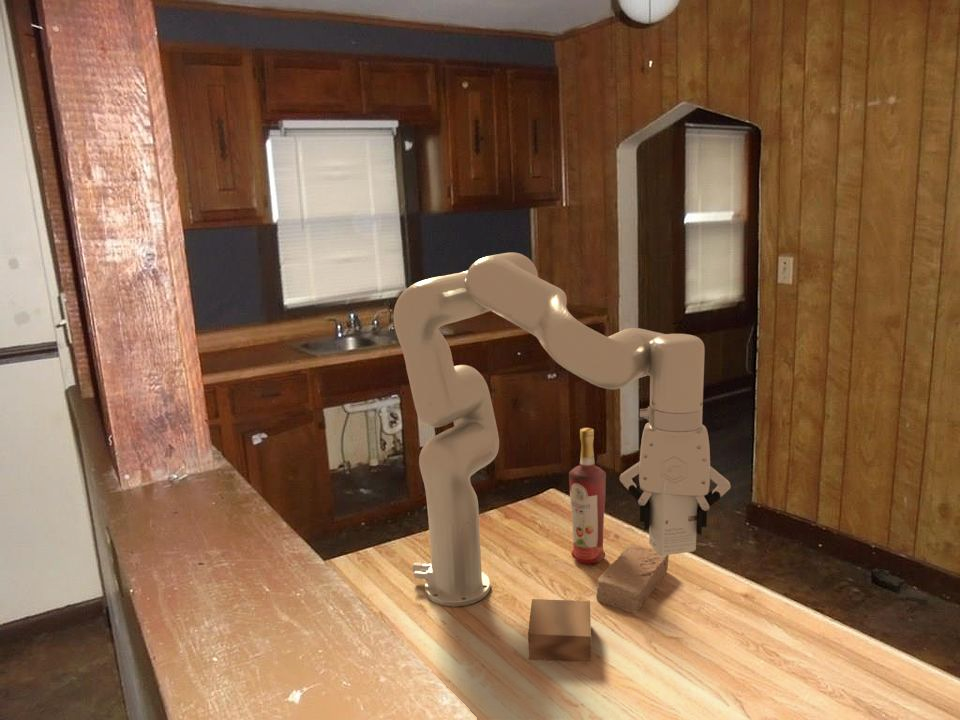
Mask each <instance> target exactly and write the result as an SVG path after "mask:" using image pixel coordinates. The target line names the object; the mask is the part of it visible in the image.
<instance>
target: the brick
mask: <svg viewBox="0 0 960 720" xmlns="http://www.w3.org/2000/svg"><path fill="white" fill-rule="evenodd" d="M669 557H670V555H662V556H661V555H659V554H658V553H657V552H656V551H655V549H653V547H651V548H650V547H647V546H640V545H638V546H637V545H633V544H631V543H630V544H628V545H627V546H625V547H624V549H623V550H622V552H621V553H620V555H618V557H617V559H615V560H614V561H613V562H612V563H611V564H610V566H608V567H607V568H606V569H604V571H603V573H601V575H600V576H599V577H598V578H597V584H596V596H595V597H596V600H597V601H598V602H600V603H602V604H605V605H610V606H613V607H614V608H618V609H621V610H623V611H627V612H630V613H637V612H638V611H639V610H640V609H641V608H642V606H643V605H644V602H645V601H646V600H647V599H649V597H650V595H651V593H653V592H654V590H655V589H656V587H657V586H658V585H659V584H660V582H661V581H662V579H663V578H664V576H665V575H666V573H667V572H668V567H669Z"/></svg>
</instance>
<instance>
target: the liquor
mask: <svg viewBox="0 0 960 720" xmlns="http://www.w3.org/2000/svg"><path fill="white" fill-rule="evenodd" d="M594 435H595V430H594V429H593V428H591V427H582V428H580V429H579V439H580V445H581V447H580V461H579V465H577V466H575V467H574V468H572V469H571V470H570V471H569V472H568V480H569V496H570V497H569V499H570V509H571V510H570V511H571V522H572V523H571V526H572V541H573V543H572V547H573V549H572V551H571V553H570V554H571V557H572V558H573V559H574V560H575V561H577V562H578V563H579V564H581V565H583V566H594V565H597V564H598V563H599V562H601V561H602V560H604V558H606V552H605V551H604V527H605V524H604V523H605V522H604V521H605V505H606V484H607V483H606V482H607V480H606V479H607V473H606V471H605V470H604V469H602V468H601V467H599V466H597V465H596V463H595V452H594V439H595V436H594Z"/></svg>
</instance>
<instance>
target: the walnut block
mask: <svg viewBox="0 0 960 720" xmlns="http://www.w3.org/2000/svg"><path fill="white" fill-rule="evenodd" d="M530 604H531V605H530V611H529V612H530V613H529V621H528V630H527V639H528V641H527V644H528V660H530V661H551V662H568V663H569V662H570V663H571V662H573V663H590V664H591V663H592V626H591V624H592V623H591V620H592V618H591V600H570V599H569V600H568V599H566V600H565V599H545V598H544V599H541V598H531V602H530Z"/></svg>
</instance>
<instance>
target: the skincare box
mask: <svg viewBox="0 0 960 720" xmlns="http://www.w3.org/2000/svg"><path fill="white" fill-rule="evenodd" d="M665 489H666V482H665V481H663V482H662V493H661V494H654V493H652V495H651V496H650V498H649V500H650V524H649V529H648V536H649V537H648V544H649V545H650V547H651V548H652V549H655V551H656V552H657V553H658V554H659V555H661V556H662V555H668V556H670V555H678V554H684V553H692V552H695V551H696V550H697V506H698V501H697V499H696V497H692V496H678V495H669V494H665Z"/></svg>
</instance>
